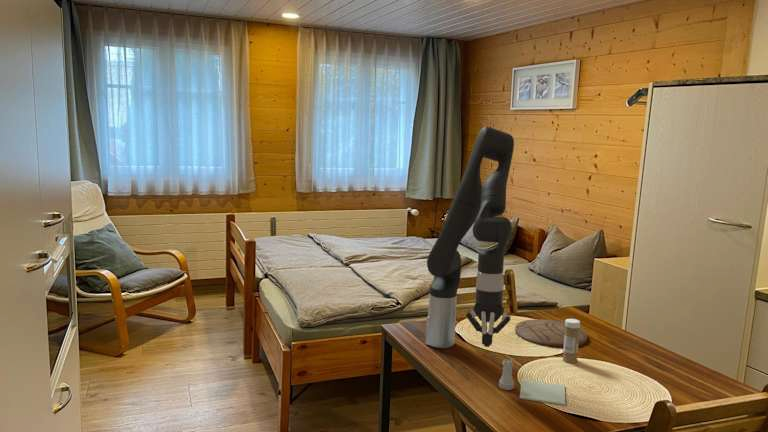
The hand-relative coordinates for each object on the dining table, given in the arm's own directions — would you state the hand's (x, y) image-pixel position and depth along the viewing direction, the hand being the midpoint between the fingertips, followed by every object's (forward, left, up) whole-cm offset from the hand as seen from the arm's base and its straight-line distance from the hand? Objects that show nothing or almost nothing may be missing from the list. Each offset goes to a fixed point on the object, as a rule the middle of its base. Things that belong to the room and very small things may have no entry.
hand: (487, 345), depth 167 cm
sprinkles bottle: (+24, +27, -12) cm, 38 cm away
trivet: (+18, +50, -12) cm, 54 cm away
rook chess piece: (+6, 0, -12) cm, 13 cm away
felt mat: (+16, 0, -11) cm, 20 cm away
